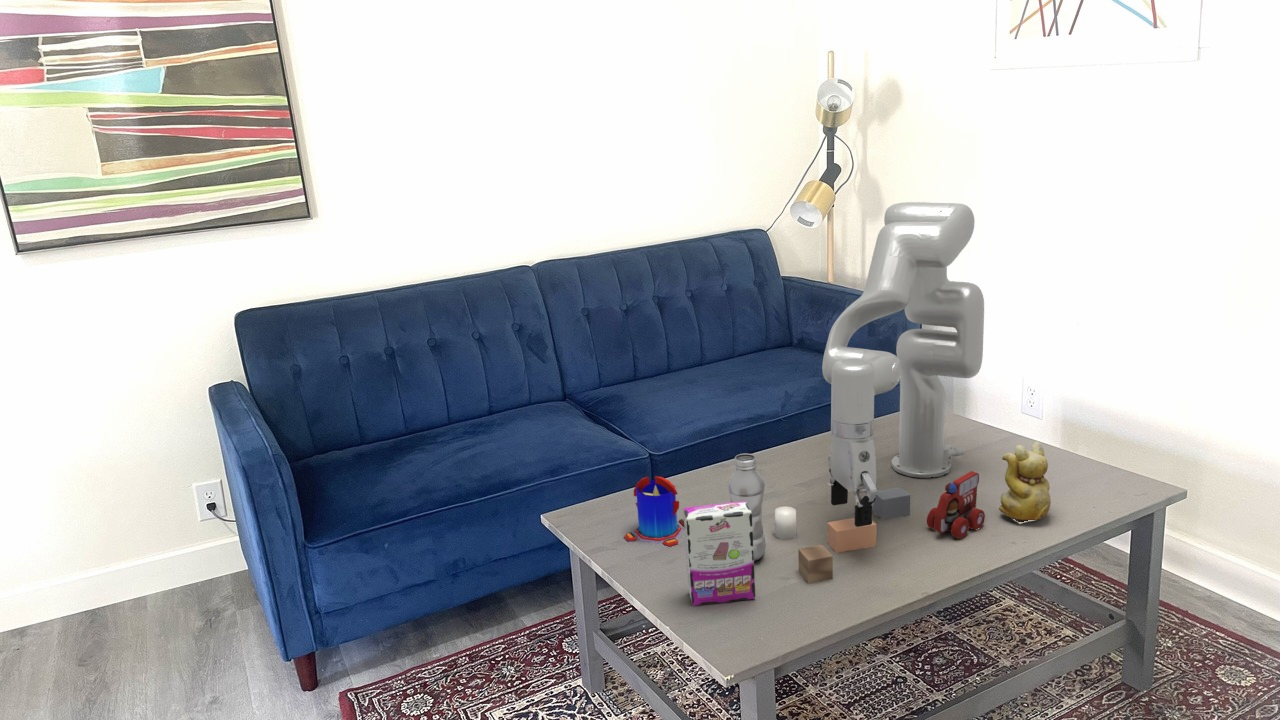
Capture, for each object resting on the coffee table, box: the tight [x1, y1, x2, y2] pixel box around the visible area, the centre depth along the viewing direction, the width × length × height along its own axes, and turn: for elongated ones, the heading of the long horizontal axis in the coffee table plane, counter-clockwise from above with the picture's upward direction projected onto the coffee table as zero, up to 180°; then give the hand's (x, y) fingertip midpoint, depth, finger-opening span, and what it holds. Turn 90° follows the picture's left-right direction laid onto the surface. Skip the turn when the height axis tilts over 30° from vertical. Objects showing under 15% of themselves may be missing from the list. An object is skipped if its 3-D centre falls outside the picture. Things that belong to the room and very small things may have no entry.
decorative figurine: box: [998, 441, 1052, 522], centre depth 177 cm, size 10×8×15 cm
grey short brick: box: [872, 487, 911, 521], centre depth 183 cm, size 6×4×4 cm, turn 104°
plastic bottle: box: [727, 453, 767, 562], centre depth 168 cm, size 6×7×20 cm
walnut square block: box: [797, 544, 834, 584], centre depth 162 cm, size 4×4×4 cm
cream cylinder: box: [774, 506, 797, 540], centre depth 178 cm, size 4×4×5 cm
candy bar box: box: [682, 501, 756, 607], centre depth 156 cm, size 11×5×16 cm, turn 96°
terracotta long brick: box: [827, 517, 878, 554], centre depth 172 cm, size 8×4×4 cm, turn 104°
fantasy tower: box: [622, 476, 685, 548], centre depth 181 cm, size 12×12×12 cm
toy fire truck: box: [926, 471, 986, 540], centre depth 175 cm, size 7×12×10 cm, turn 128°
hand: (850, 514), depth 171 cm, fingers open, 9 cm apart
